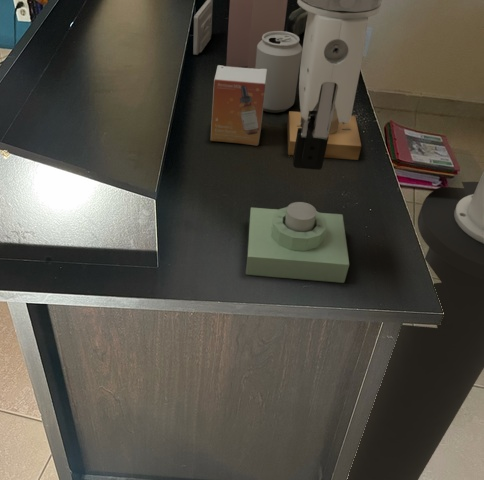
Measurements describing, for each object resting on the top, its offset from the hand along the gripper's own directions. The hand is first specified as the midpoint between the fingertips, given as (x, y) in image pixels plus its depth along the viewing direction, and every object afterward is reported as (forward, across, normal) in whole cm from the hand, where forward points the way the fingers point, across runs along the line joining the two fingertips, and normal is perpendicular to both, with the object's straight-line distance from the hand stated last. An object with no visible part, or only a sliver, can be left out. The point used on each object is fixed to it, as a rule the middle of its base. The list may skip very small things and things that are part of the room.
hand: (306, 164), depth 65 cm
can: (+13, +41, +2) cm, 43 cm away
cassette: (+13, +67, +18) cm, 71 cm away
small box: (+13, +29, +8) cm, 33 cm away
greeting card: (+13, +55, +5) cm, 57 cm away
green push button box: (+13, 0, -1) cm, 13 cm away
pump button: (+8, 0, -1) cm, 8 cm away
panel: (+13, +29, -6) cm, 32 cm away
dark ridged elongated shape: (+13, +77, -3) cm, 78 cm away
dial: (+10, +29, -6) cm, 31 cm away
